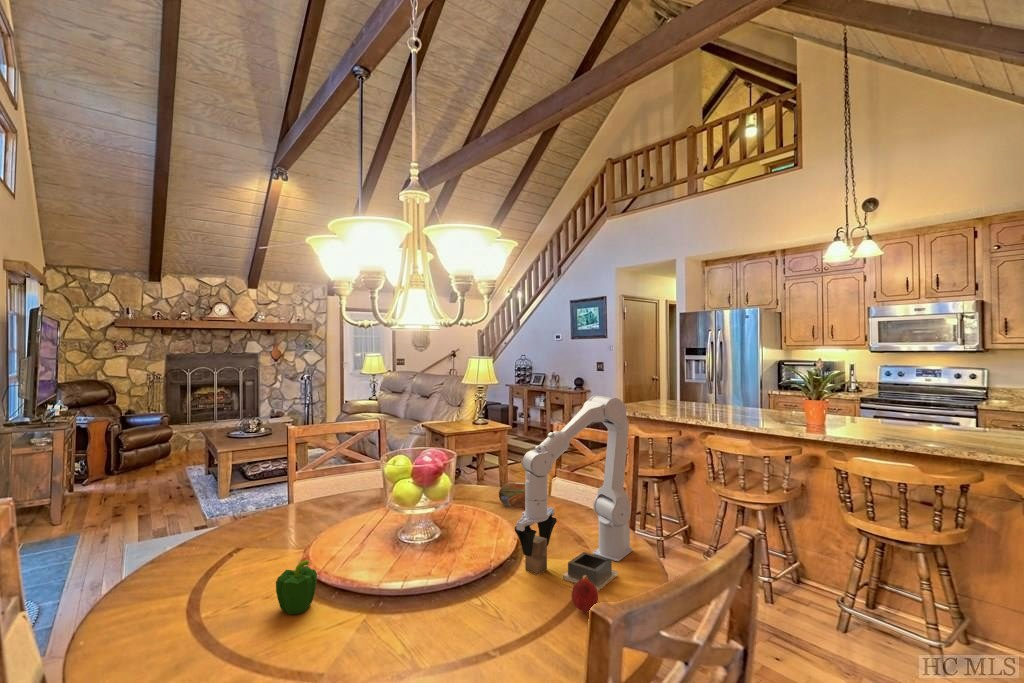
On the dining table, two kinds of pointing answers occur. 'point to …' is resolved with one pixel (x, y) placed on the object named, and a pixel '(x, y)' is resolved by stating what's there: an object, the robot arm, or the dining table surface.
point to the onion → (584, 594)
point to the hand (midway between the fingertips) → (535, 550)
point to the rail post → (537, 556)
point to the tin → (513, 494)
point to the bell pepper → (296, 588)
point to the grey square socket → (590, 570)
